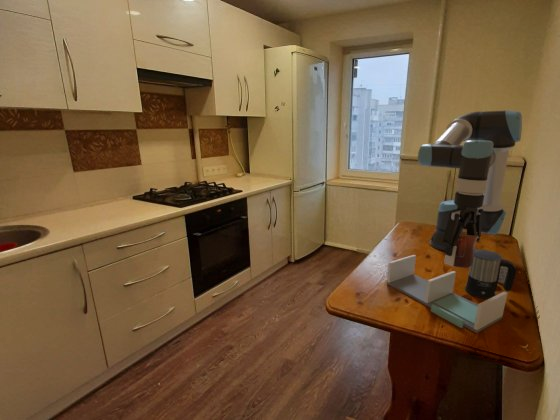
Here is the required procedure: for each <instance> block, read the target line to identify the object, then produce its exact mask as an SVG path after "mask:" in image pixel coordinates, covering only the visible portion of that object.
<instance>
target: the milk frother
mask: <svg viewBox="0 0 560 420" xmlns="http://www.w3.org/2000/svg"><path fill="white" fill-rule="evenodd" d="M514 265H515V264H514V263H513V262H512V261H510V260H508V259H503V255H501V254H499V253H498V252H495V251H491V250H486V249H474V257H473V263H472V266H470V267H468V268H469V270H468V276H467V280H466V285H465V287H464V290H465V291H466V292H467V293H468V294H469V295H471V296H473V297H477V298H480V299H481V298H482V299H490V298H492V297H494V296H496V292H497V287H498V284H499V283H498V280H499V274H500V268H501V266H504V267H507V268H508V271H507V275H506V278H505V282H504V284H503V287H502V288H503V289H504V292H510V291H511V290H512V287H513V285H514V282H515V278H516V276H517V268H516V267H517V266H516V265H515V266H516V267H515V266H514Z"/></svg>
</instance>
